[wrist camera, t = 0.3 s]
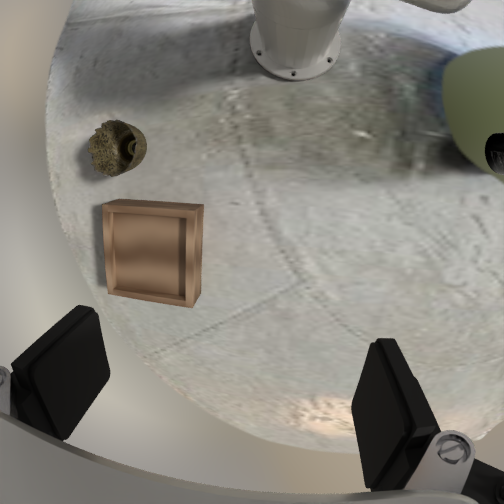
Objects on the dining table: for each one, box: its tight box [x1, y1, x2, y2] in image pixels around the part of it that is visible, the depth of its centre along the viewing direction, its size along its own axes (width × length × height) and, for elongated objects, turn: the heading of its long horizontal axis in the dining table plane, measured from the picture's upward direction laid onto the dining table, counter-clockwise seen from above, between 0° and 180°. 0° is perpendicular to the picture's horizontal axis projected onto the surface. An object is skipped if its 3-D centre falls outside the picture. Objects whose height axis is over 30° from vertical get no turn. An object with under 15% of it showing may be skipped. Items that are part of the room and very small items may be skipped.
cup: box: [88, 120, 147, 177], centre depth 39 cm, size 8×7×8 cm
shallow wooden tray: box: [102, 199, 204, 308], centre depth 45 cm, size 14×14×6 cm
